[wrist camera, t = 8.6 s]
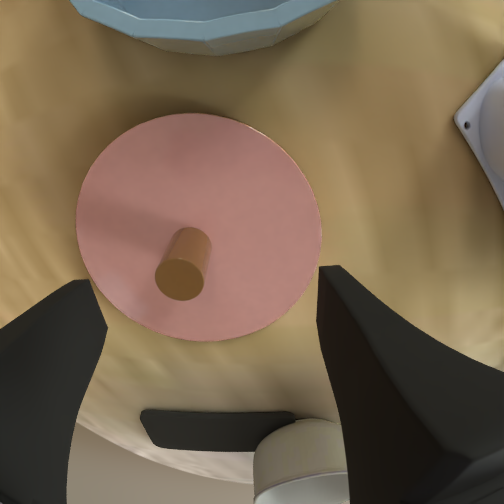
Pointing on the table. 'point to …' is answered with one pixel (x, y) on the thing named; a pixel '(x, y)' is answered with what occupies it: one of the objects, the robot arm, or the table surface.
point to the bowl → (206, 22)
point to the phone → (212, 429)
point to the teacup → (302, 465)
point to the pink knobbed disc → (198, 227)
